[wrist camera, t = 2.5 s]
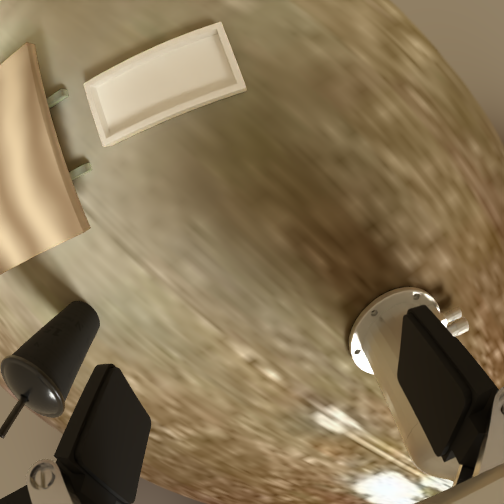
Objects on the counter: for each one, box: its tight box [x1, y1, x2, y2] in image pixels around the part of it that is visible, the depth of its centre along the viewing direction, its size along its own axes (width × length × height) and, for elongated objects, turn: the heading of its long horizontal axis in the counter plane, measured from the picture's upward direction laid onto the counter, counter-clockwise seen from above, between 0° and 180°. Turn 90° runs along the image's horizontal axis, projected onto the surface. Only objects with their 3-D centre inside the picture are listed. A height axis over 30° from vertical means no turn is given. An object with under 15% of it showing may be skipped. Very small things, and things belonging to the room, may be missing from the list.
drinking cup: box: [0, 301, 100, 438], centre depth 25 cm, size 8×8×20 cm
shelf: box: [0, 42, 92, 274], centre depth 24 cm, size 14×20×6 cm
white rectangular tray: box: [83, 22, 247, 147], centre depth 24 cm, size 14×7×2 cm, turn 108°
